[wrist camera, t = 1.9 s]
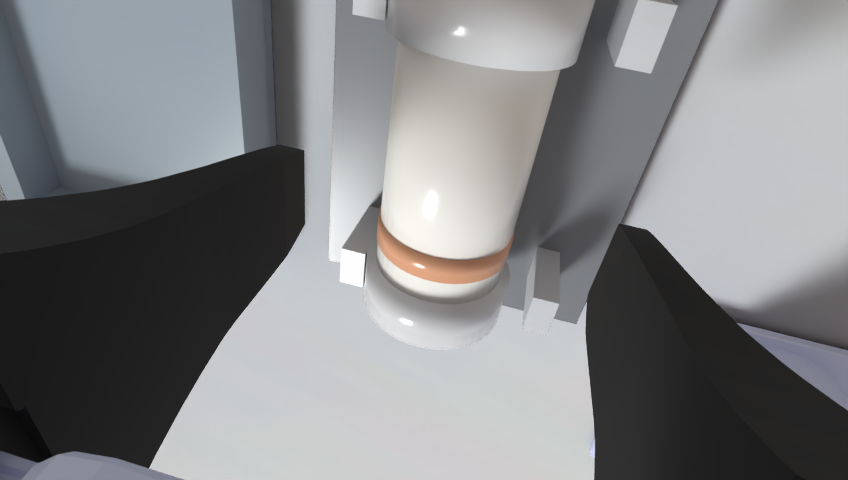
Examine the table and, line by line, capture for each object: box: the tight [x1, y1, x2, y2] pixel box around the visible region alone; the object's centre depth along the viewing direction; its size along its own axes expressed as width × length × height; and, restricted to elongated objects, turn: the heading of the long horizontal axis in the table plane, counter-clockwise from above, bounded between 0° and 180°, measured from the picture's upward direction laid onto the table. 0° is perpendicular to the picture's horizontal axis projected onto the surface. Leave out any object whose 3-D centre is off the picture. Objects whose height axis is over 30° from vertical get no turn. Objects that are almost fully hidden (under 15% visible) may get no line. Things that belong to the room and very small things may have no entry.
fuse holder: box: [329, 0, 718, 336], centre depth 15 cm, size 13×10×4 cm
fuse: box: [364, 0, 595, 350], centre depth 14 cm, size 10×5×5 cm, turn 172°
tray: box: [0, 0, 276, 200], centre depth 17 cm, size 15×11×2 cm
